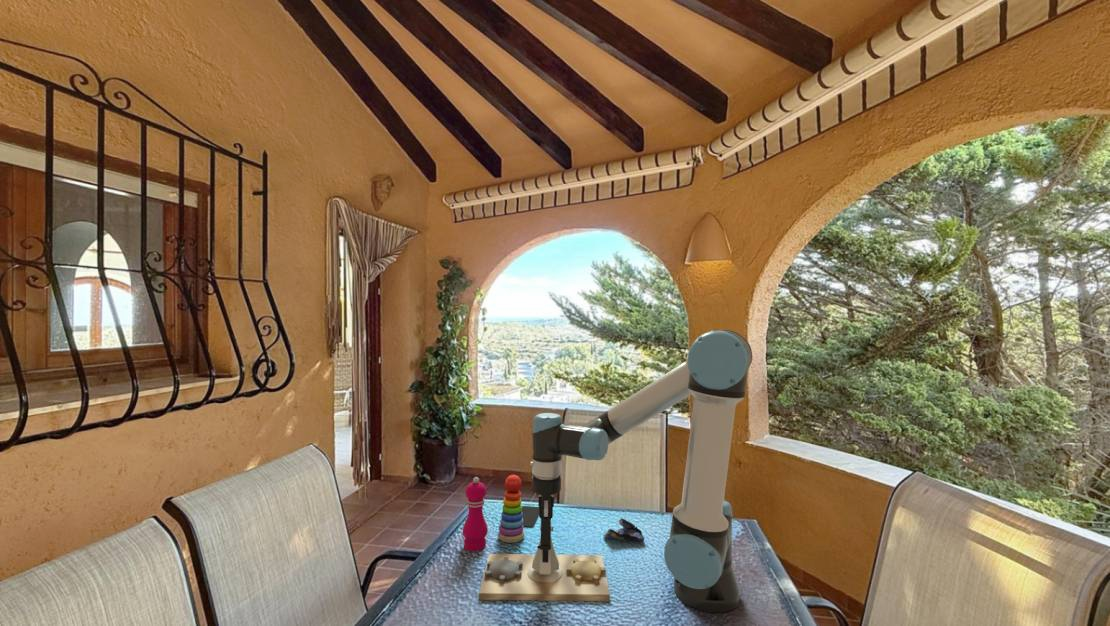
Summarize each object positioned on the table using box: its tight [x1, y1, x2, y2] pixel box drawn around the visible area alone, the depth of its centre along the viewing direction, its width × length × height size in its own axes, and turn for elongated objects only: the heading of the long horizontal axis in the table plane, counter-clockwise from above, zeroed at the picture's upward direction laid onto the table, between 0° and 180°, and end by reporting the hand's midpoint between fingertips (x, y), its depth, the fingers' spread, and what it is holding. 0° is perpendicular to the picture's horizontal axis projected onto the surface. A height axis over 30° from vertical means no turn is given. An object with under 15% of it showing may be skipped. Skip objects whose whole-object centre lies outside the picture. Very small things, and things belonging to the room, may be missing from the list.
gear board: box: [478, 553, 611, 602], centre depth 116 cm, size 31×18×3 cm, turn 90°
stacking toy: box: [497, 474, 525, 544], centre depth 138 cm, size 8×8×19 cm
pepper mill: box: [462, 476, 489, 552], centre depth 133 cm, size 7×7×20 cm
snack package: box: [603, 517, 645, 543], centre depth 139 cm, size 12×6×12 cm
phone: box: [522, 505, 540, 529], centre depth 153 cm, size 7×1×15 cm
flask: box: [532, 525, 559, 573], centre depth 116 cm, size 7×7×10 cm
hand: (545, 565), depth 116 cm, fingers closed on flask, 7 cm apart
